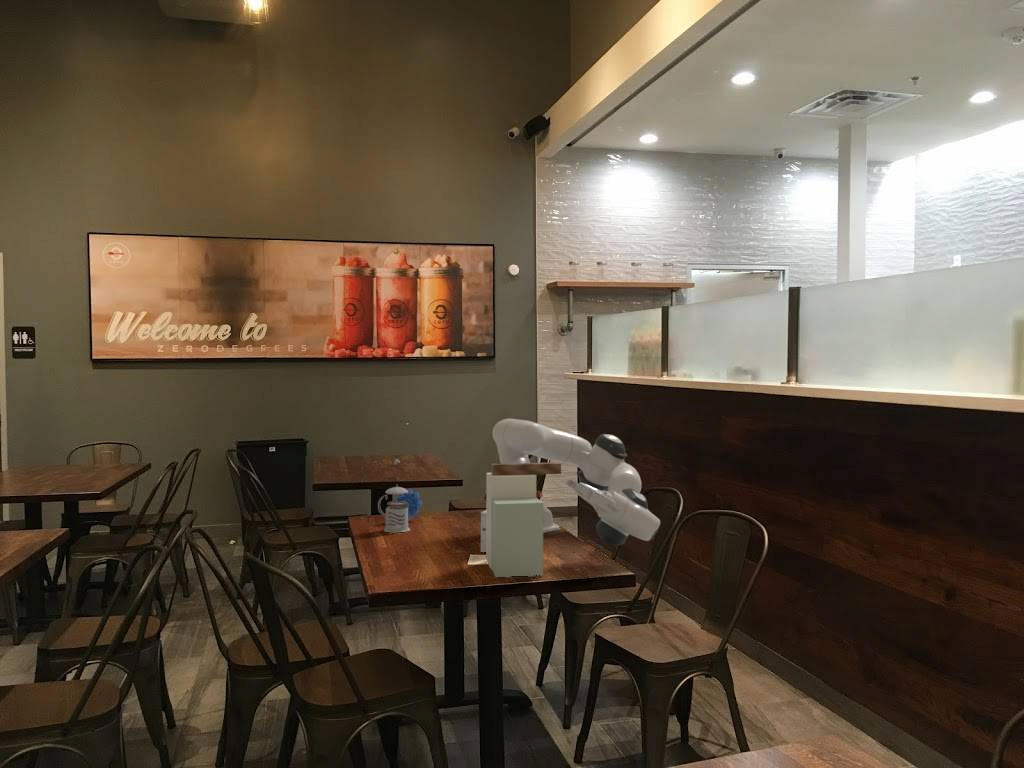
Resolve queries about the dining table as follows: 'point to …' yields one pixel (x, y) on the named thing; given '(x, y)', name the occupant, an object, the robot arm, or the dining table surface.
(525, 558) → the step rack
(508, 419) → the robot arm
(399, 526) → the french press
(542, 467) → the walnut bar
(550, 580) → the dining table surface
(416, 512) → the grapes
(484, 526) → the supplement box
